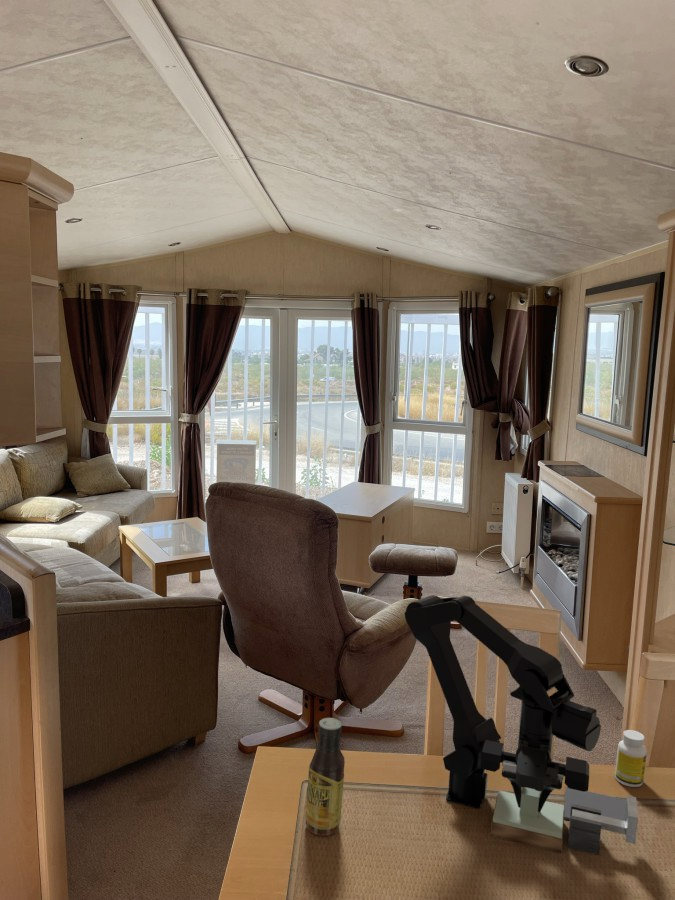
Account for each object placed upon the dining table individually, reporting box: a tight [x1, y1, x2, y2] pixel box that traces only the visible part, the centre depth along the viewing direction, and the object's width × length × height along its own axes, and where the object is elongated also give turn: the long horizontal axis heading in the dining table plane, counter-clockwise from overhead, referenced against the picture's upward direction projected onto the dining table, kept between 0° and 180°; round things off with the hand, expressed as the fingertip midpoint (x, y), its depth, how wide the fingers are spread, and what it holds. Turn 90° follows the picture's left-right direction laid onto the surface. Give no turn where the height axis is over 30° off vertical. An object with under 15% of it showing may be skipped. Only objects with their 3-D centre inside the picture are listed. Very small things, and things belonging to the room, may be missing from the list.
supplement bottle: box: [614, 729, 648, 788], centre depth 147 cm, size 5×5×10 cm
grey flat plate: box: [563, 786, 626, 821], centre depth 138 cm, size 12×10×1 cm
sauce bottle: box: [304, 717, 346, 837], centre depth 128 cm, size 6×6×20 cm
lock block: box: [567, 804, 602, 856], centre depth 128 cm, size 5×5×5 cm
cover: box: [492, 787, 564, 839], centre depth 131 cm, size 12×9×5 cm
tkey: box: [572, 795, 639, 845], centre depth 127 cm, size 10×6×5 cm, turn 71°
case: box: [490, 794, 565, 854], centre depth 132 cm, size 12×9×2 cm
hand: (529, 808), depth 131 cm, fingers closed on cover, 3 cm apart
